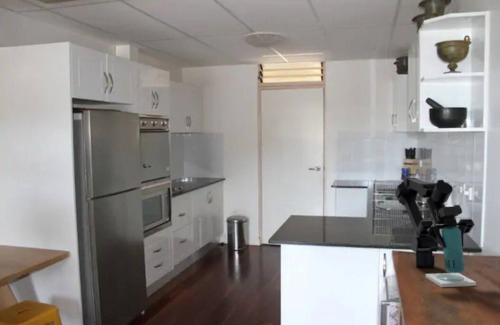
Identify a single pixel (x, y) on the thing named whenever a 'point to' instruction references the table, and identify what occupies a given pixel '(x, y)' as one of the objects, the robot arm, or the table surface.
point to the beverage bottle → (453, 247)
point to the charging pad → (450, 279)
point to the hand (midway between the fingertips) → (453, 247)
